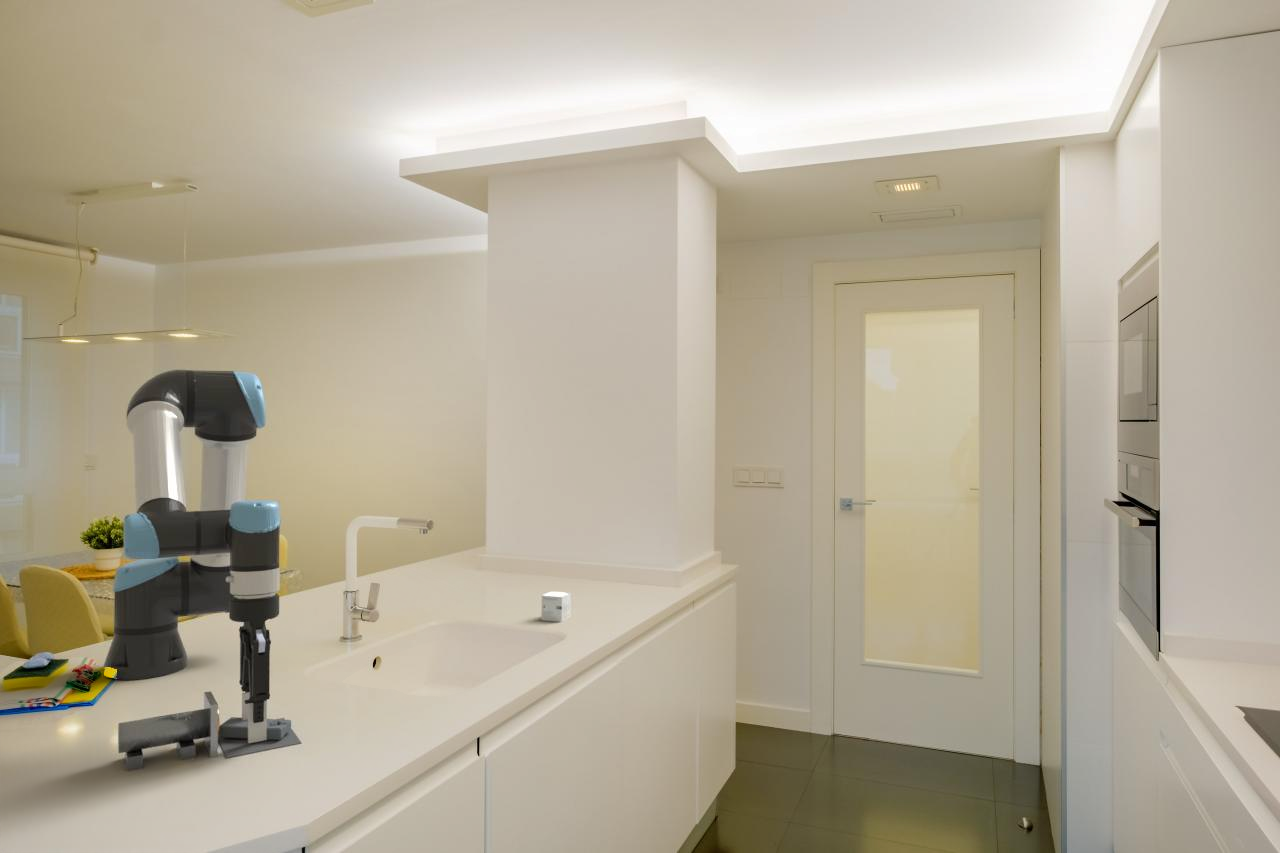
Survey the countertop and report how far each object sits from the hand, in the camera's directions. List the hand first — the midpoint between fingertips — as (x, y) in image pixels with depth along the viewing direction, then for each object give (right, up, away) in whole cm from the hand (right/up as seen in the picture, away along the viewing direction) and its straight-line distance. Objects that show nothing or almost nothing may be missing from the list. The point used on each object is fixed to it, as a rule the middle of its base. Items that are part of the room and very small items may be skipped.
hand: (254, 735), depth 137 cm
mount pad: (0, -1, +1) cm, 1 cm away
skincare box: (+41, -1, +85) cm, 95 cm away
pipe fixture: (-10, 0, -8) cm, 13 cm away
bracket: (-4, -2, +3) cm, 5 cm away
